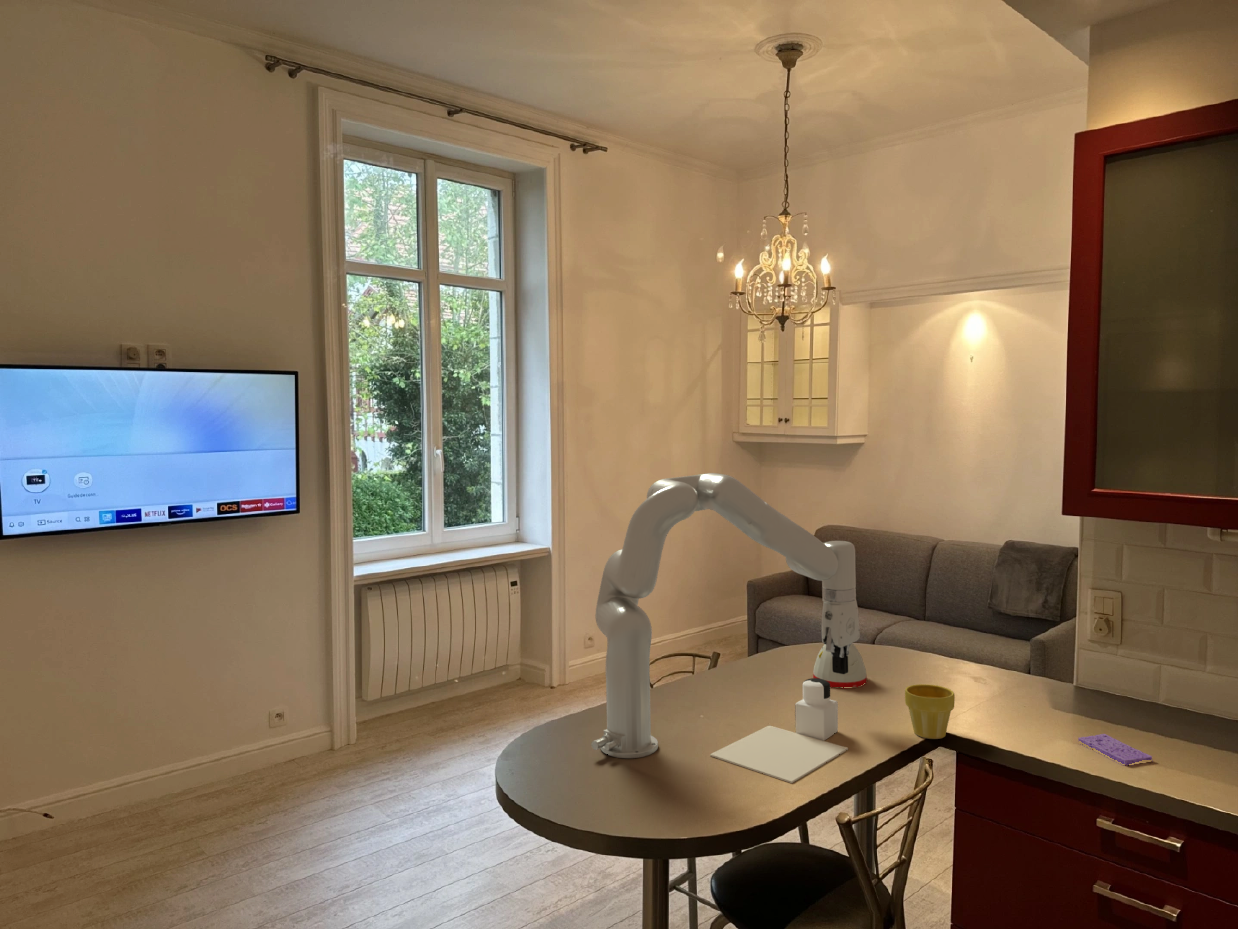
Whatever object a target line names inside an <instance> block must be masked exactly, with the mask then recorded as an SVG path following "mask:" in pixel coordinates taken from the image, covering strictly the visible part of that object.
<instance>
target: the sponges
mask: <svg viewBox="0 0 1238 929" xmlns="http://www.w3.org/2000/svg"><path fill="white" fill-rule="evenodd" d="M1079 741H1081V742H1082V743H1084V744H1086V745H1088V746H1089V747H1091V748H1095V749H1096V750H1098V751H1100V752H1101V753H1103V754H1105V755H1107V756H1109V757H1110V758H1112V759H1114V760H1117V761H1118V762H1121V763H1122V764H1126V765H1129V764H1132V763H1135V762H1139V761H1142V760H1151V759H1152V760H1153V755H1150V754H1148V753H1145V752H1143V751H1141V750H1139V749H1136V748H1134V747H1132V746H1131V745H1129V744H1126V743H1124V742H1122V741H1120V740H1118V739H1116V738H1113V736H1111V735H1108V734H1106V733H1101V734H1095V735H1090V736H1081V737H1078V742H1079Z"/></svg>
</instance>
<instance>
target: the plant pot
mask: <svg viewBox="0 0 1238 929" xmlns="http://www.w3.org/2000/svg"><path fill="white" fill-rule="evenodd" d="M904 703H905V706H906V707H907V708H908V712H909V716H910V720H911V725H912V729H913V732H914V734H915V736H917V737H921V738H923V739H929V740H938V739H940V740H941V739H943V738H945V737H946V735H947V734H946V733H947V730H948V726H949V721H950V716H951V713H952V711H953V710H954V708H955V691H953V690H952V689H950V688H949V687H945V686H942V685H935V684H927V683H923V684H921V683H920V684H912V685H909V686H907V687H905V689H904Z"/></svg>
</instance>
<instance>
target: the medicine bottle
mask: <svg viewBox="0 0 1238 929" xmlns="http://www.w3.org/2000/svg"><path fill="white" fill-rule="evenodd" d="M838 705H839V704H838V700H835V699H831V687H830V683H829V682H828V681H826V680H823V679H819V678H813V677H811V678H807V679H805V680H803V682H802V699H800V700H799V701H796V703H795V704H794V706H795V707H794V708H795V710H794V711H795V712H794V713H795V714H794V717H795V718H794V720H795V722H794V723H795V725H794V729H795V730H794V731H795V732H794V733H798V734H801V735H805V736H808V737H812V738H815V739H819V740H822V741H826V740H828V739H829V738H830V737H832V736H833V735H835V734H836V733H837V732H838V730H839V725H838V724H839V716H838V715H839V712H838V710H839V709H838V708H839V707H838ZM834 733H835V734H834Z"/></svg>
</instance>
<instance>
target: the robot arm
mask: <svg viewBox="0 0 1238 929" xmlns="http://www.w3.org/2000/svg"><path fill="white" fill-rule="evenodd" d="M705 510H711V511H714V512H715V513H717V514H718V515H720V516H721V517H722V518H724V519H725V521H727V522H729V523H731V525H733V526H734V527H735V528H737V529H738V530H739V531H741V532H742V533H743V534H745V535H746V536H747V537H748V538H750V539H751V540H753V541H754V542H756V543H758V544H759V545H761V546H763V547H766V548H768V549H770V550H772V551H774V552H777V553H778V554H780V555H782V556H783V557H785V563H786V565H787V567H788V568H789V569H790V570H792V571H793V572H794V573H796V574H799V575H802V576H804V577H807V578H810V579H812V580H816V581H820V582H821V584H822V586H821V591H822V593H821V594H822V598H821V599H822V602H823V604H822V611H821V612H822V613H821V641H822V643H823V645H824V644H825V645H826V651H827V652H831V656H832V670H833V672H835V673H839V674H846V673H848V655H849V647H850V645H851V644H852V643H853V644H854V643H855V642H857V641H859V639H860V637H861V628H860V617H859V607H858V602H857V592H856V590H857V589H856V588H857V586H856V585H857V583H856V582H857V581H856V580H857V579H856V576H857V575H856V547H855V545H854V543H852V542H851V541H845V540H829V541H825V542H822V541H821V540H820V539H819V538H817V537H816V536H814V534H812V533H811V532H810V531H808V530H806V529H805V528H804V527H802V526H801V525H799V524H797V523H796V522H795V521H793V520H791V519H790V518H789V517H788V516H786V515H785V514H783V513H781V512H780V511H778V510H777V509H776V508H774V507H772V505H770V504H769V503H768V502H766V501H765V500H764V499H762V498H761V497H760V496H759V495H757V494H756V493H755V492H753V491H752V490H751V489H750V488H749V487H747V486H746V485H745V484H743V483H742V482H741V481H740V480H738V479H737V478H735V477H733V476H731V475H729V474H723V473H718V472H709V473H708V472H707V473H701V474H694V475H693V474H692V475H686V476H685V475H684V476H677V477H668V478H662V479H659V480H657V481H655V482H654V483H652V484H651V486H650V487H649V488H648V490H647V493H646V499H645V500H644V501H643V502H642V503H641V504H640V505H639V506H638V507H637V508H636V509H635V511H634V512H633V514H632V515H631V518H630V521H629V523H628V526H627V528H626V529H627V530H626V533H625V536H624V540H623V546H622V549H619V550H617V551H615V552H613V553H612V554H611V556H609V558H608V559H607V561H606V563H605V565H604V567H603V568H604V569H603V572H602V576H601V580H600V581H601V582H600V586H599V590H598V591H599V592H598V596H597V601H596V608H595V615H594V616H595V622H596V625H597V628H598V629H599V631H600V632H601V633H602V634H603V635H604V636H605V637H606V639H607V641H606V643H607V647H606V653H605V654H606V655H605V687H606V688H605V690H606V692H605V693H606V699H605V700H606V729H603V735H602V736H601V737H600V738H597V739H595V740H593V741H591V745H590V746H591V749H593V750H594V751H597V750H600V751H601V752H603V754H606V755H607V754H608V755H607V756H610V757H614V758H618V759H637V758H644V757H647V756H649V755H652V754H653V753H655V752H656V751H657V750H658V747H659V741H658V739H657V738H656V737H654V736H653V735H652V733H651V731H652V730H651V726H652V725H651V676H650V658H651V657H650V654H651V645H652V638H653V636H652V635H653V630H652V624H651V620H650V617H649V616H648V614H647V613H646V612H645V610H643V609H642V608H641V607H640V606H639V605H638V604H639V600H640V599H644V598H646V597H648V596H649V595H651V593H652V592H653V591H654V590H655V587H656V585H657V579H658V575H659V574H658V573H659V569H660V565H661V559H662V556H663V555H662V554H663V551H664V550H663V549H664V545H665V542H666V539H667V536H668V534H669V532H671V529H672V528H673V527H674V526H676V525H677V524H678V523H680V522H682V521H684V520H686V519H689V518H690V517H691V516H693V515H694V513H695V512H699V511H705ZM846 655H847V656H846Z"/></svg>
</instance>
